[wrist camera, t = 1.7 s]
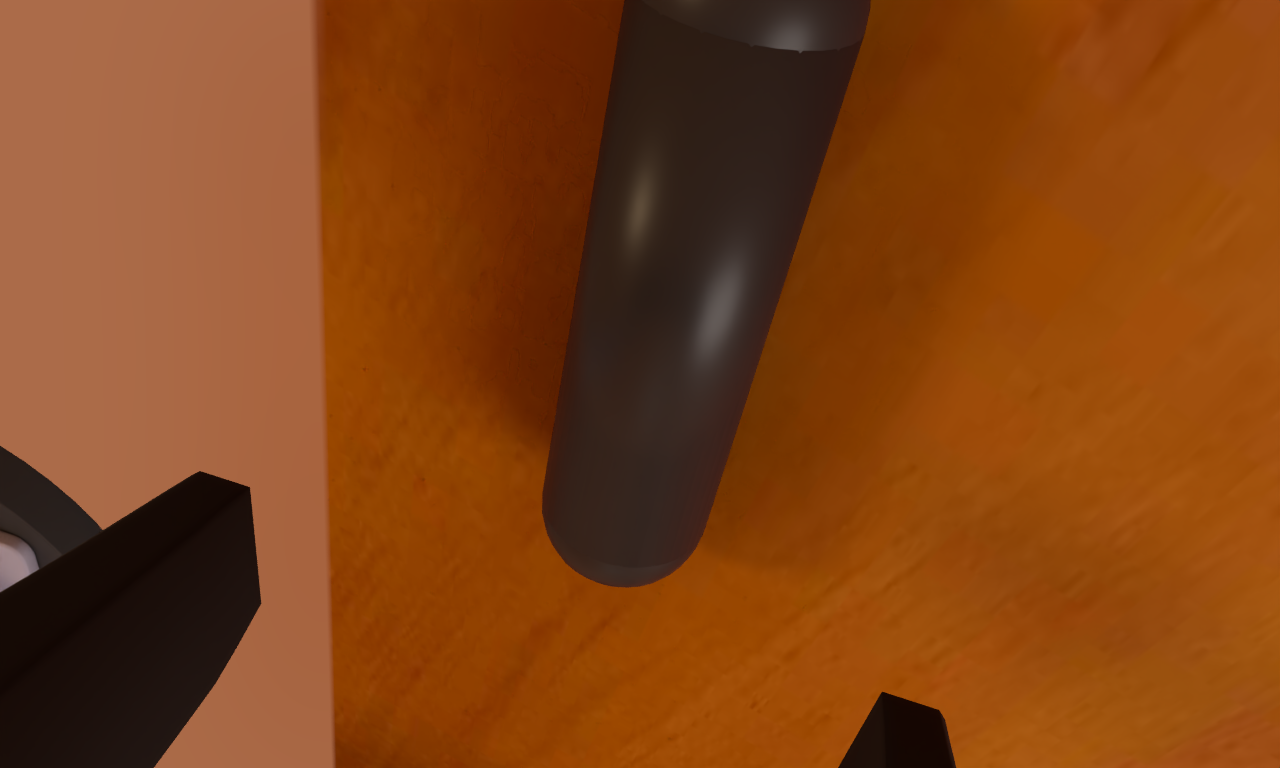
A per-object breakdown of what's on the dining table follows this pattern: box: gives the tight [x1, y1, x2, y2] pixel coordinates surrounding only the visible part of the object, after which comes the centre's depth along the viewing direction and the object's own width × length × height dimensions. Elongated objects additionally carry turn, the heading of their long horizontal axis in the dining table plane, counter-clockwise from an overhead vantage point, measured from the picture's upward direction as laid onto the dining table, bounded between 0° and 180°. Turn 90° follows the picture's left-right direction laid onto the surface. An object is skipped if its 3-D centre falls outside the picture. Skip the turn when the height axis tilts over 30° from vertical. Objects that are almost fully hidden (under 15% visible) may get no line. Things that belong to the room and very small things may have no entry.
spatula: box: [542, 0, 870, 587], centre depth 13 cm, size 18×5×3 cm, turn 169°
